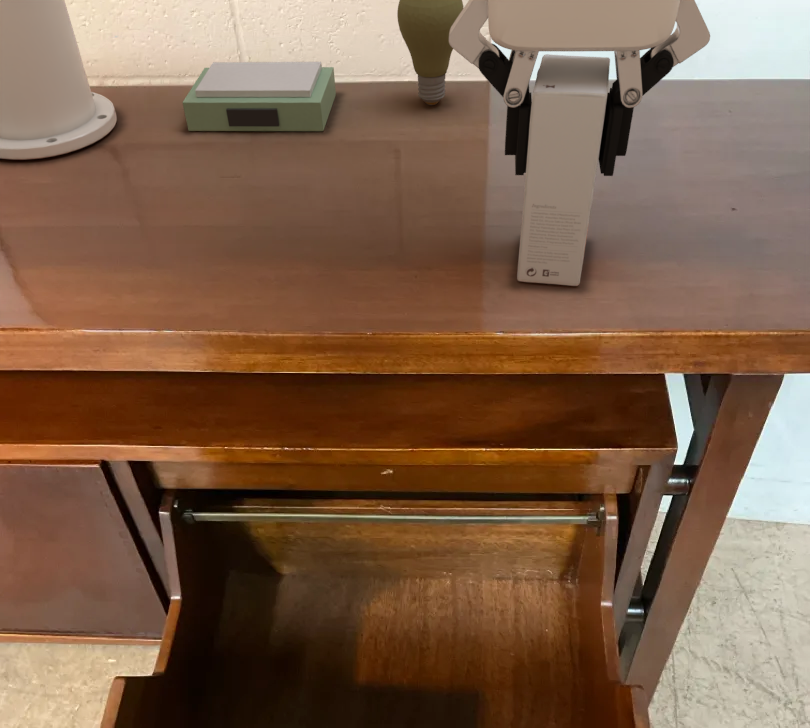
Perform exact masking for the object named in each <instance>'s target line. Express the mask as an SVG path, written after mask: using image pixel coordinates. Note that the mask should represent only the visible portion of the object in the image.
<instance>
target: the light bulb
mask: <svg viewBox="0 0 810 728" xmlns="http://www.w3.org/2000/svg"><path fill="white" fill-rule="evenodd" d="M397 4H398V5H397V13H396V14H397V17H396V18H397V24H398V28H399V32H400V34H401V36H402V39H403V41H404V43H405V44H406V47H407V49H408V52H409V55H410V57H411V61H412V67H413V70H414V72H415V73H416V75H417V82H418V83H417V90H418V93H417V94H418V97H419V99H420V100H422V101H423V102H424V103H425V104H427V106H435V105H437V104H438V103H439V102H440V101H441V100H442V99H443V98H444V97H445V96H446V75H447V72H448V69H449V65H450V61H451V56H452V52H453V50H454V49H453V48H452V47H451V46H450V44H449V32H450V28H451V26H452V25H453V23H454V22H455V20H456V19H457V17H458V16H459V14H460V13H461V11H462V10H463V8H464V2H463V0H399V1H398V3H397Z"/></svg>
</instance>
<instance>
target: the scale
mask: <svg viewBox="0 0 810 728" xmlns="http://www.w3.org/2000/svg"><path fill="white" fill-rule="evenodd" d="M322 65H323V64H322V61H213V62H212V63H211V64H210V66H209V67H204V68H203V70H202V71H201V72H200V74H199V75H198V77H197V79H196V81H195V82H194V84H193V85H192V87H191V88H190V90H189V91H188V93H187V95H186V96H185V98H184V99H183V101H182V102H181V103H182V108H183V112H184V117H185V120H186V125H187V131H188V132H324V131H325V128H326V124H327V122H328V119H329V116H330V113H331V110H332V108H333V104H334V102H335V99H336V96H337V91H336V90H337V89H336V79H335V68H334V66H322Z"/></svg>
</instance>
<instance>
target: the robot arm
mask: <svg viewBox="0 0 810 728" xmlns="http://www.w3.org/2000/svg"><path fill="white" fill-rule="evenodd" d="M68 11H69V10H68V8H67V4H66V1H65V0H0V159H1V160H13V161H14V160H15V161H16V160H17V161H18V160H19V161H21V160H22V161H24V160H25V161H27V160H38V159H39V160H40V159H45V158H53V157H57V156H60V155H65V154H69V153H71V152H76V151H78V150H82V149H83V148H86V147H88V146H91V145H93V144H95V143H96V142H98V141H100V140H102V139H103V138H104V137H106V136H107V135H108V134H110V132H111V131H112V130H113V129H114V128H115V126H116V123H117V121H118V117H117V112H116V109H115V106H114V103H113V102H112V101H111V100H110V99H109V97H106V96H104V95H102V94H100V93H97V92H94V91H92V90H91V86H90V82H89V80H88V76H87V73H86V69H85V66H84V62H83V59H82V55H81V51H80V48H79V45H78V42H77V39H76V35H75V31H74V29H73V28H74V27H73V24H72V21H71V18H70V13H69V12H68ZM486 22H488V23H487V24H488V32H489V36H490V38H491V41H493V43H491V42H490V41H489V40H488V39H487V38H486V37H485V36H484V35H483V34H482V33H481V29H482V28H483V26H484V24H485V23H486ZM675 26H676V28H675ZM674 28H675V30H674ZM710 41H711V33H710V30H709V28H708V26H707V24H706V22H705V20H704V17H703V16H702V14H701V11H700V9H699V7H698V4H697V3H696V0H468V1H467V2H466V4H465V5H464V6H463V10H462V11H461V13H460V14H459V16H458V17H457V19H456V20H455V22H454V23H453V25H452V26H451V28H450V32H449V44H450V46H451V47H452V48H453V50H454V51H456V52H457V53H458V54H459V55H461V56H462V58H464V59H465V60H466V61H468V62H469V63H470V64H471V65H473V66H474V67H476V68H477V69H478V70H479V72H480V73H481V74H482V76H483V77H484V78H485V79H486V80H487V81H488V82H489V83H490V85H491V86H492V87H493V88H494V89H495V90H496V91H497V93H498V94H499V95H500V96H501V97H502V98H503V102H504V104H505V105H506V121H505V139H504V156H514V169H515V170H514V171H515V172H514V174H515V176H524V175H525V174H526V165H527V153H528V141H529V126H530V115H531V105H532V92H530V81H531V78H532V75H533V71H534V68H535V65H536V63H537V60H538V59H537V58H538V55H539V52H614V53H613V54H614V64H615V65H614V66H615V76H616V79H615V80H614V81H613V82H612V85H611V87H609V91H608V94H607V102H606V109H605V116H604V123H603V130H602V137H601V144H600V151H599V159H598V165H599V171H600V174H602V175H603V176H604V177H613V176H614V173H615V166H616V165H615V164H616V160H617V157H625V156H626V155H627V151H628V145H629V138H630V133H631V128H632V121H633V116H634V109H635V107H637V106H638V105H639V104H640V103H641V102H642V99H643V96H644V95H646V94H647V93H648V92H649V91H650V90H651V89H653V88H654V87H655V86H656V85H657V84H658V83H659V82H660V81H662V79H664V78H665V77H666V76H667V75H668V74H669V73H670V72H671V71H672V70H673V68H674V67H676V66H677V65H678V64H681V63H683V62H684V61H686V60H687V59H689V58H690V57H692V56H693V55H695V54H696V53H698V52H699V51H701V50H702V49H704V48H705V47H706V46H707V45H708V44H709V42H710ZM497 45H498V46H500V47H502V48H503V49H507V50H510V54H509V58H508V57H507V56H506V55H505V54H504V52H502V50H501V49H500V48H499V47H498V46H497ZM643 50H647V51H646V52H645V53H643V54H642V55H641V51H643Z"/></svg>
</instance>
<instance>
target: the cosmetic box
mask: <svg viewBox="0 0 810 728" xmlns="http://www.w3.org/2000/svg"><path fill="white" fill-rule="evenodd" d="M610 65H611V58H610V57H605V56H604V57H602V56H582V55H580V56H579V55H563V54H562V55H561V54H549V53H547V54H543V56H542V57H541V62H540V65H539V68H538V70H537V72H536V78H535V83H534V87H533V90H532V95H531V97H532V105H531V115H530V126H529V141H528V153H527V165H526V173H525V179H524V191H523V203H522V213H521V223H520V224H521V226H520V235H519V236H520V237H519V238H520V239H519V250H518V260H517V261H518V262H517V274H516V280H517V281H518V282H523V283H533V284H547V285H557V286H558V285H561V286H569V287H570V286H571V287H577V286H580V283H581V277H582V270H583V266H584V265H583V264H584V257H585V251H586V244H587V238H588V233H589V232H588V231H589V225H590V219H591V213H592V205H593V199H594V193H595V187H596V178H597V171H598V165H599V151H600V144H601V137H602V130H603V123H604V116H605V109H606V102H607V94H608V93H609V86H610V85H609V84H610V82H609V81H610V80H609V79H610V78H609V77H610Z"/></svg>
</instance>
